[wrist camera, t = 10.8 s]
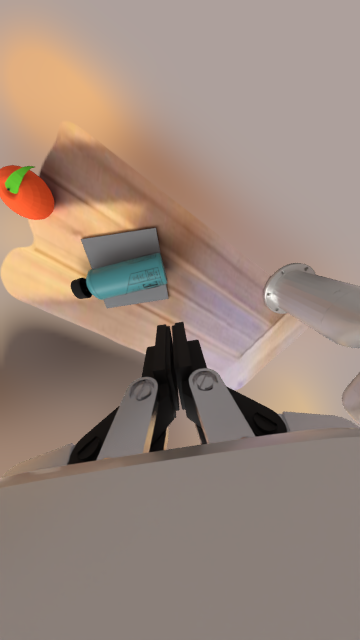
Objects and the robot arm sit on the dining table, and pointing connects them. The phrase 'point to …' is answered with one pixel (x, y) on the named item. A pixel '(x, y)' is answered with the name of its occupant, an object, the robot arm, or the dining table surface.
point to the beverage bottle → (121, 278)
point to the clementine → (25, 192)
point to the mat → (119, 250)
